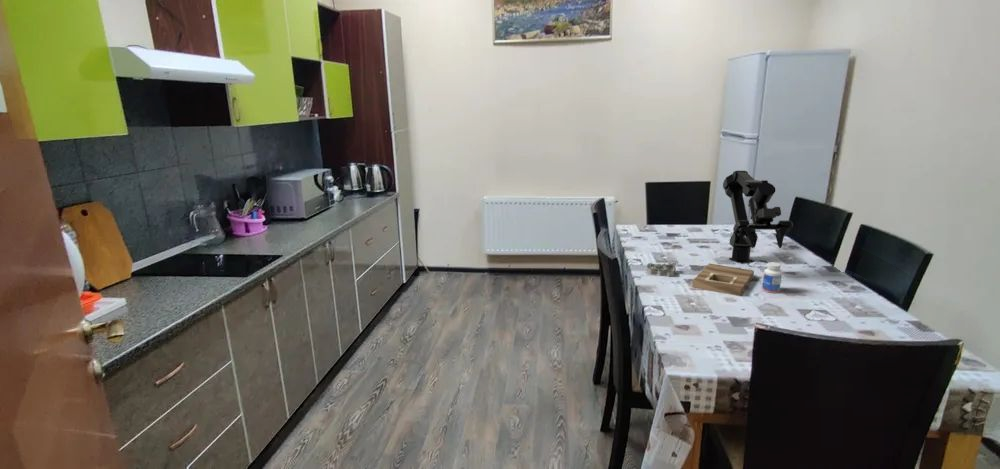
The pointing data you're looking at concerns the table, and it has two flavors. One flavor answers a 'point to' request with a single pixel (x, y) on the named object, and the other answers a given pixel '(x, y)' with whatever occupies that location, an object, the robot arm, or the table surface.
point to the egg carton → (661, 269)
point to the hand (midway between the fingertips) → (766, 247)
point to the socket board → (723, 279)
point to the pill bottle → (772, 278)
